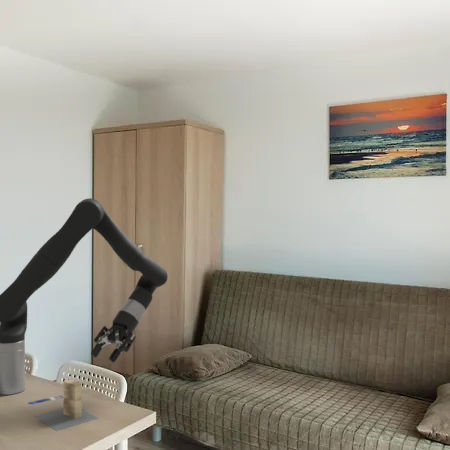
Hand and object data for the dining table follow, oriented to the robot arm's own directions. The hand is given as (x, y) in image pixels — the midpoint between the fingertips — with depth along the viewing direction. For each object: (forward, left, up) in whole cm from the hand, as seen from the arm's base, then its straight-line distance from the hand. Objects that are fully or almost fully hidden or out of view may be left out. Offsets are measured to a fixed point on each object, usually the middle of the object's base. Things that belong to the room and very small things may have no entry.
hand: (102, 358), depth 164 cm
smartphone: (-14, -10, -16) cm, 23 cm away
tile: (+2, -11, -15) cm, 18 cm away
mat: (+2, -13, -15) cm, 20 cm away
